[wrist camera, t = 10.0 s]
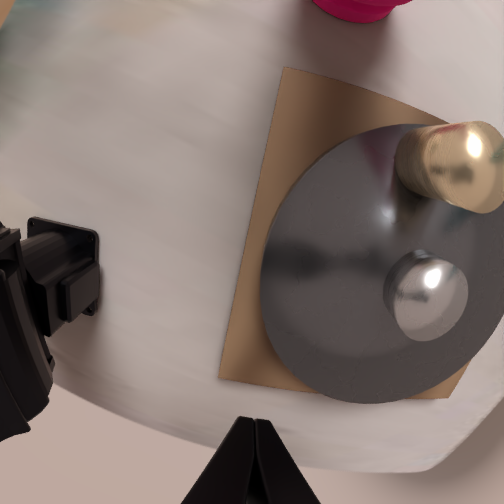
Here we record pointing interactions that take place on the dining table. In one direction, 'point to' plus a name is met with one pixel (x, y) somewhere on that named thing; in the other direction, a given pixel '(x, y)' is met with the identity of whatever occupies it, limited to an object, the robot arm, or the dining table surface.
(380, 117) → the wheel mount
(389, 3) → the pepper mill
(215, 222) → the dining table surface
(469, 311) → the handwheel
